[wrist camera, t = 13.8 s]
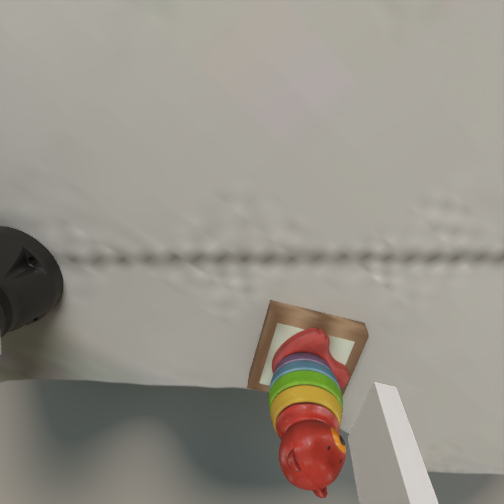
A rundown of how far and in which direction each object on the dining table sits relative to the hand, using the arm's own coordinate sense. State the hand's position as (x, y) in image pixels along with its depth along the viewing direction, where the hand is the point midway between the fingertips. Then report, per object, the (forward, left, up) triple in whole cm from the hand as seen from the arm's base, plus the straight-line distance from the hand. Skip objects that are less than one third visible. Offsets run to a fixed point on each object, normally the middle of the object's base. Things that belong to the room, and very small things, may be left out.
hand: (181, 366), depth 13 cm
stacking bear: (+13, -25, -34) cm, 44 cm away
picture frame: (+13, -25, -37) cm, 46 cm away
